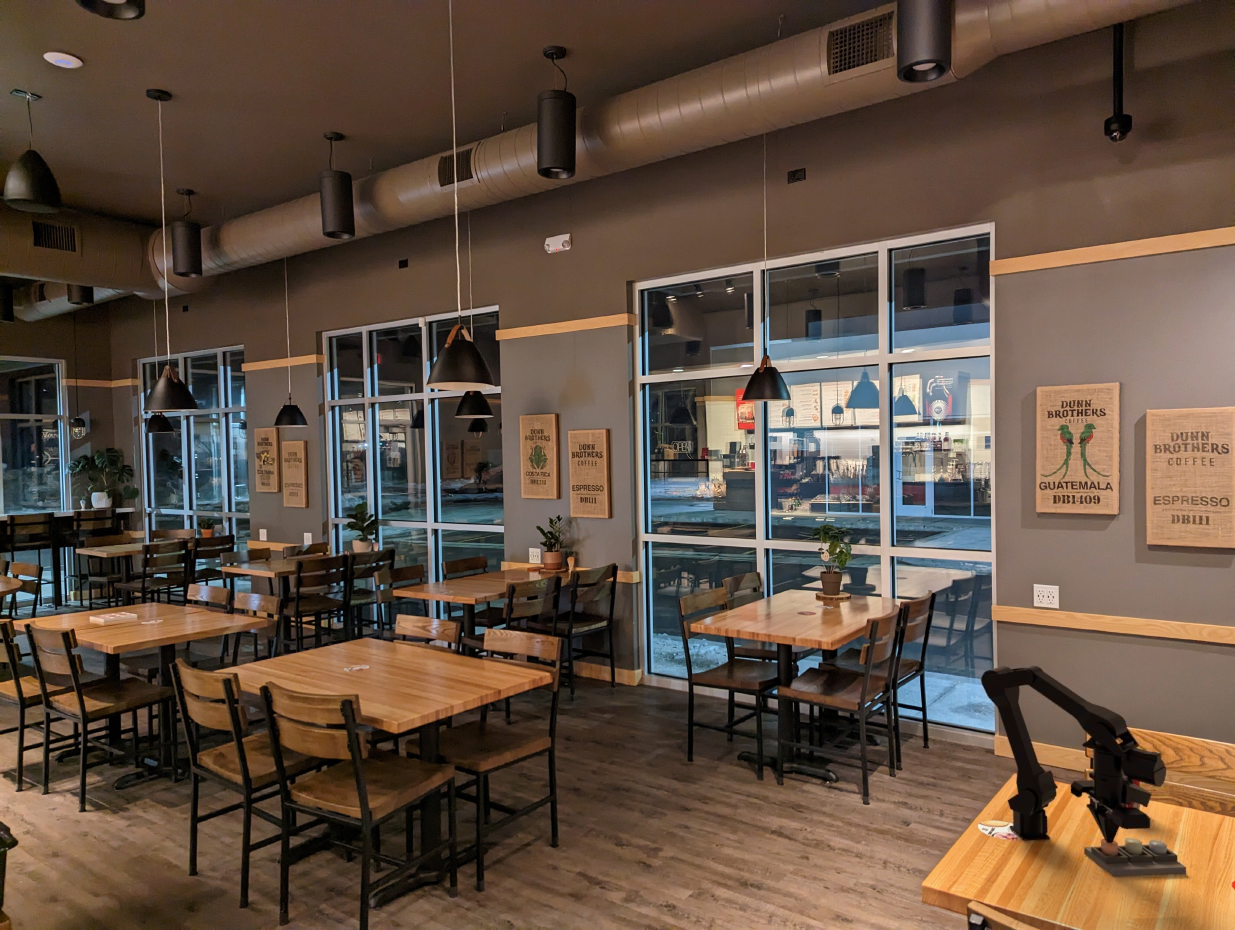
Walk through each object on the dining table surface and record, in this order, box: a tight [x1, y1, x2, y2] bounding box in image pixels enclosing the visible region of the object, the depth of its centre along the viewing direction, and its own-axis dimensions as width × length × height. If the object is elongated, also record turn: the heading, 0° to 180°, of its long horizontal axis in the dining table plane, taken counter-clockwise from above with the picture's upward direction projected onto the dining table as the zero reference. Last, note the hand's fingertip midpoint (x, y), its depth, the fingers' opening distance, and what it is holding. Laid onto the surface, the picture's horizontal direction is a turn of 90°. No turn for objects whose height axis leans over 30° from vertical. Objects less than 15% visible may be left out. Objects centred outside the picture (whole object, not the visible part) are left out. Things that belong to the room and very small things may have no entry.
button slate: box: [1148, 839, 1168, 855], centre depth 176 cm, size 3×3×2 cm
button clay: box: [1100, 838, 1119, 856], centre depth 175 cm, size 3×3×2 cm
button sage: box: [1124, 837, 1143, 855], centre depth 176 cm, size 3×3×2 cm
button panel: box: [1083, 844, 1187, 878], centre depth 176 cm, size 16×10×3 cm, turn 92°
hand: (1109, 842), depth 175 cm, fingers closed, pressing on button clay
